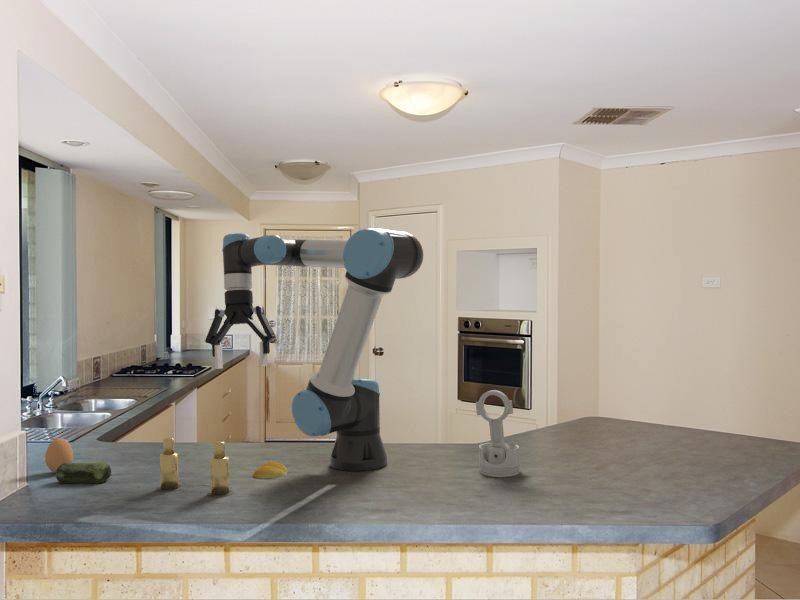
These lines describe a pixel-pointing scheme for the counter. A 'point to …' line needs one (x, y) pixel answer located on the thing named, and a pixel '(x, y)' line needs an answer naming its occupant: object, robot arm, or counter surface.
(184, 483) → the board
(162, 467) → the brass bottle
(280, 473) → the bread roll
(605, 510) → the counter surface
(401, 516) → the counter surface
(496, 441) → the engine component
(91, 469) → the vegetable
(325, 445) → the counter surface
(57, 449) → the egg
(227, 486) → the gold bottle
